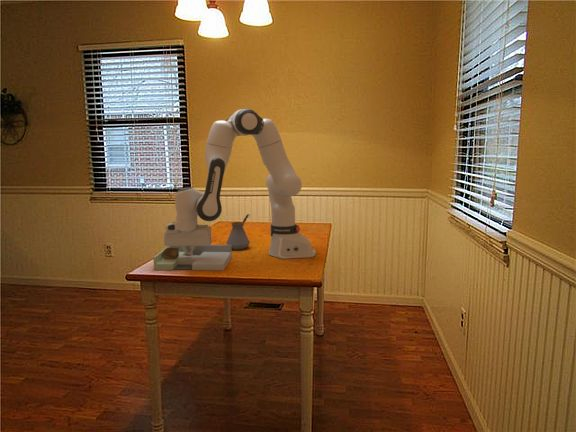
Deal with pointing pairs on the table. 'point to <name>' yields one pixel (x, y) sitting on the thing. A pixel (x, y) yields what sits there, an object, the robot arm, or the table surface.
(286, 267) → the table surface
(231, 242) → the coffee pot
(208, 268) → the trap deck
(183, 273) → the table surface
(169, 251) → the walnut block
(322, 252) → the table surface
